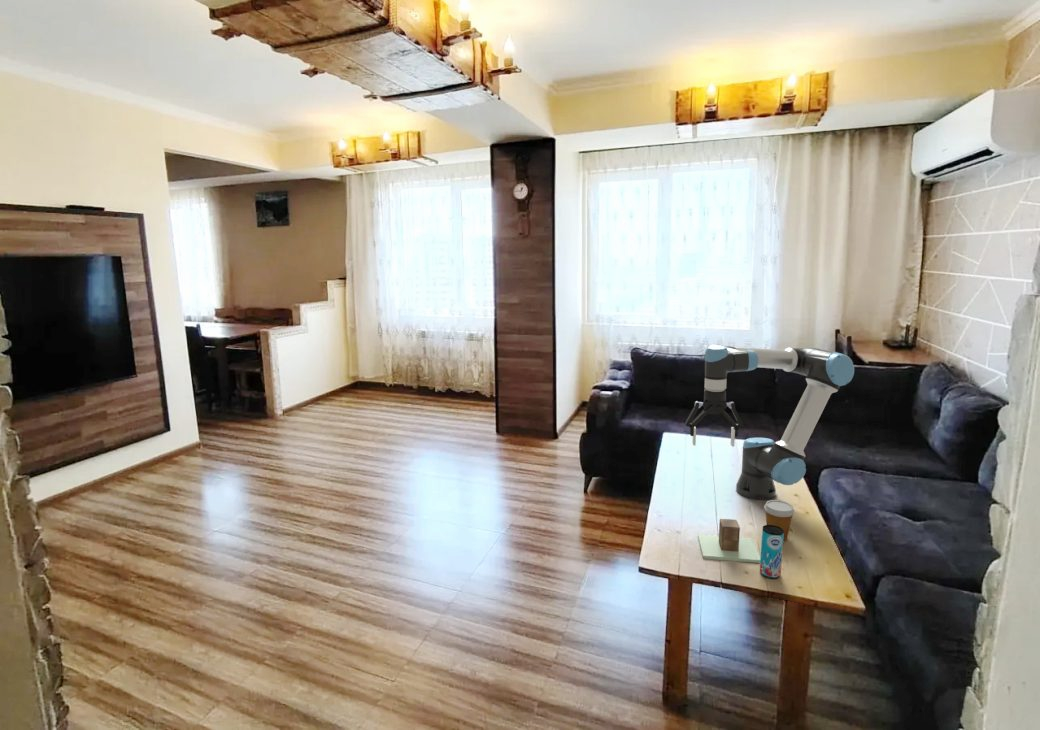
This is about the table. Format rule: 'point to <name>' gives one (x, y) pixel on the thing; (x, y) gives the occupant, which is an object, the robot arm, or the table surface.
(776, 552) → the teal and black cylinder
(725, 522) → the box
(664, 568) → the table surface
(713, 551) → the post board
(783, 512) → the disposable coffee cup
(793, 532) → the table surface
